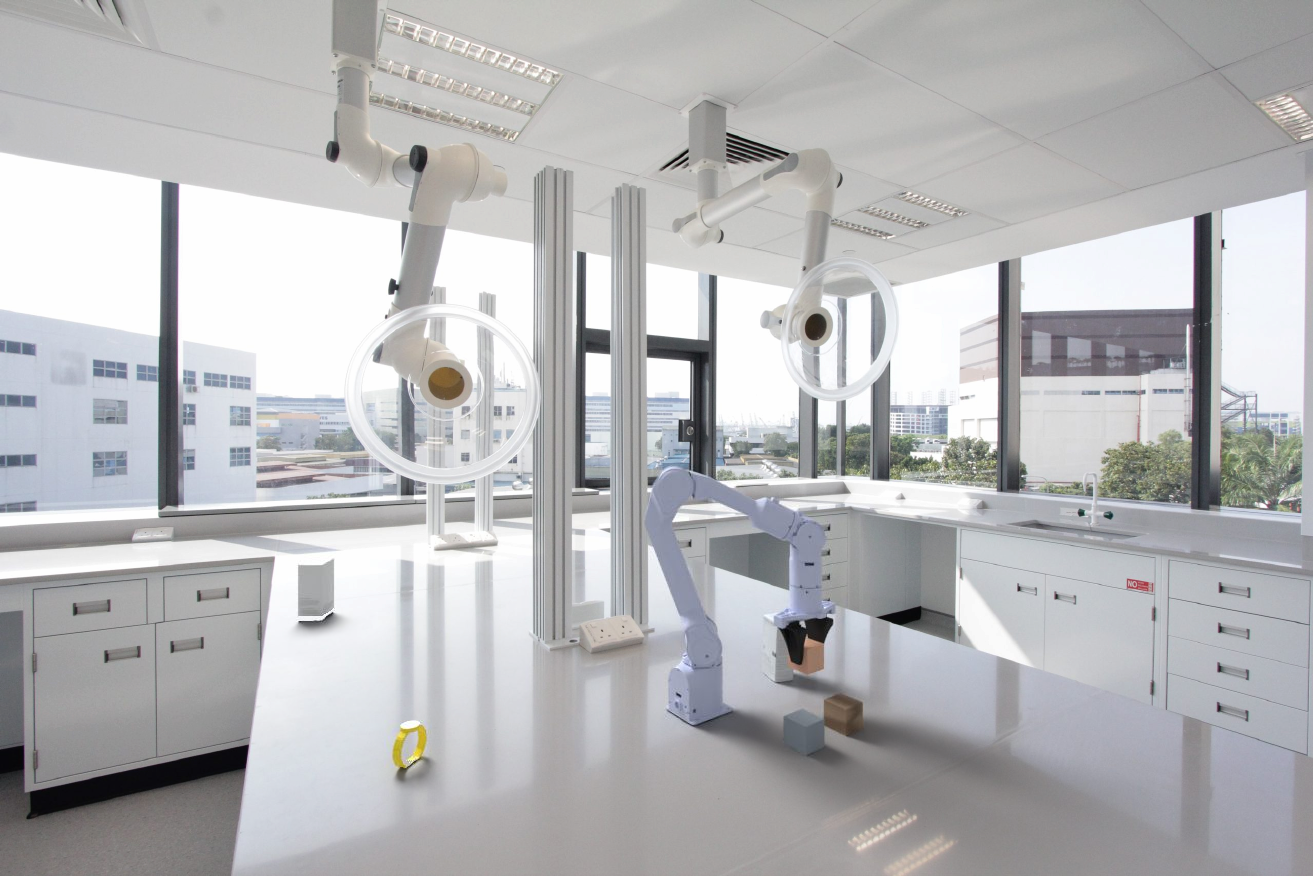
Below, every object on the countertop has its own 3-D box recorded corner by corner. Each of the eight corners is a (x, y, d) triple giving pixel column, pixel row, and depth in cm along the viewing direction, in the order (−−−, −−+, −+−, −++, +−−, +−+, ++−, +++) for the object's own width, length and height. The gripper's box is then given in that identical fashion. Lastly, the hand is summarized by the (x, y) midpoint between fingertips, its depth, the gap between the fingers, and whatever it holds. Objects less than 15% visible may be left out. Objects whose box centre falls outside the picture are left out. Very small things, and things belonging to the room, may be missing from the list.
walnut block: (846, 736, 98) (846, 709, 98) (823, 726, 102) (823, 699, 102) (862, 729, 101) (862, 702, 101) (840, 718, 104) (840, 692, 104)
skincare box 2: (761, 672, 125) (761, 614, 125) (780, 669, 126) (780, 612, 126) (775, 683, 119) (775, 622, 119) (795, 681, 120) (795, 620, 120)
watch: (415, 754, 94) (416, 715, 94) (430, 757, 93) (431, 717, 93) (387, 772, 88) (389, 730, 89) (403, 775, 87) (404, 733, 88)
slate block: (805, 756, 92) (805, 727, 92) (783, 744, 96) (783, 716, 96) (824, 747, 95) (824, 719, 95) (802, 735, 99) (802, 708, 99)
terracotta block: (807, 674, 105) (807, 649, 105) (787, 666, 108) (787, 642, 108) (824, 668, 107) (823, 643, 107) (804, 661, 111) (804, 636, 111)
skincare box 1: (311, 613, 167) (310, 557, 167) (336, 612, 168) (335, 556, 168) (296, 622, 159) (296, 564, 159) (323, 621, 159) (322, 563, 159)
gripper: (795, 595, 100) (795, 676, 100) (849, 582, 109) (849, 657, 109) (764, 587, 106) (764, 663, 106) (818, 575, 114) (818, 646, 114)
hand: (805, 659), depth 108 cm, fingers closed on terracotta block, 4 cm apart
